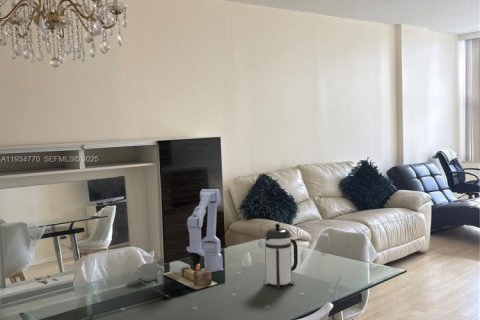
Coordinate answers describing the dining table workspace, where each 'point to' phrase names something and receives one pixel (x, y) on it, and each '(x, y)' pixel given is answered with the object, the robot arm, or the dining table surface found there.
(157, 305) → the dining table surface
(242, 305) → the dining table surface
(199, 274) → the walnut socket
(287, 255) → the coffee press
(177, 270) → the steel block
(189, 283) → the birch board
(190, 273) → the gold square bar
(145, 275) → the teacup
